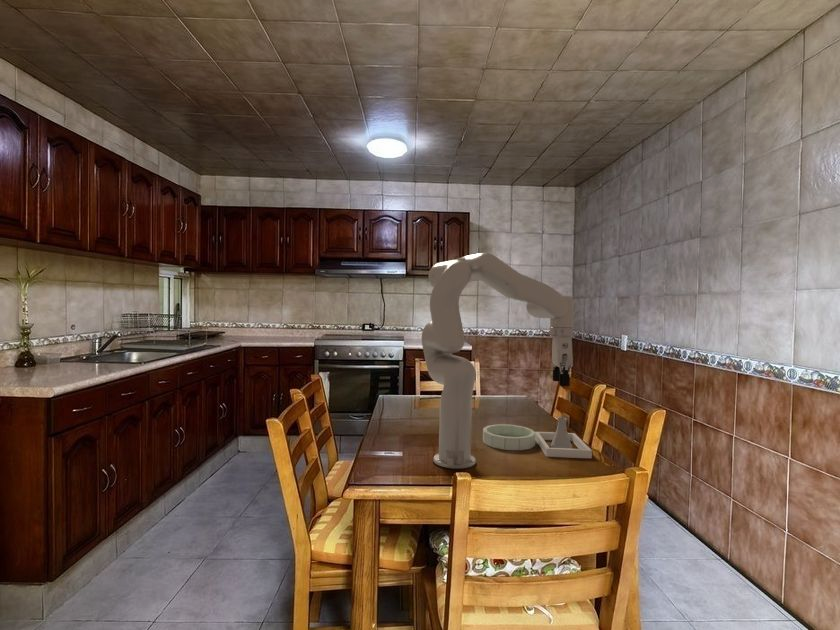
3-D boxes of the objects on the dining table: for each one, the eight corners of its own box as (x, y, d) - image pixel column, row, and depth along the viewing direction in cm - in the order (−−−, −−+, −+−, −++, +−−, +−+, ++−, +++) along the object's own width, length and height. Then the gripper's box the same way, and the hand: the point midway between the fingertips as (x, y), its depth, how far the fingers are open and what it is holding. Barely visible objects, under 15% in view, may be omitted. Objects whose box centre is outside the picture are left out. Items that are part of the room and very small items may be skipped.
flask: (573, 452, 152) (574, 421, 151) (550, 450, 153) (551, 420, 153) (571, 445, 159) (572, 416, 159) (549, 444, 160) (550, 415, 160)
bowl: (538, 451, 152) (539, 439, 152) (485, 448, 153) (485, 436, 153) (529, 436, 169) (529, 425, 169) (481, 434, 170) (481, 423, 170)
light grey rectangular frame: (591, 458, 146) (591, 450, 145) (546, 456, 146) (546, 448, 146) (574, 440, 165) (574, 433, 165) (534, 438, 166) (534, 431, 166)
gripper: (580, 334, 147) (579, 388, 147) (566, 331, 164) (565, 379, 165) (555, 334, 147) (555, 388, 148) (544, 331, 165) (544, 379, 165)
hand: (560, 383), depth 156 cm, fingers open, 9 cm apart
